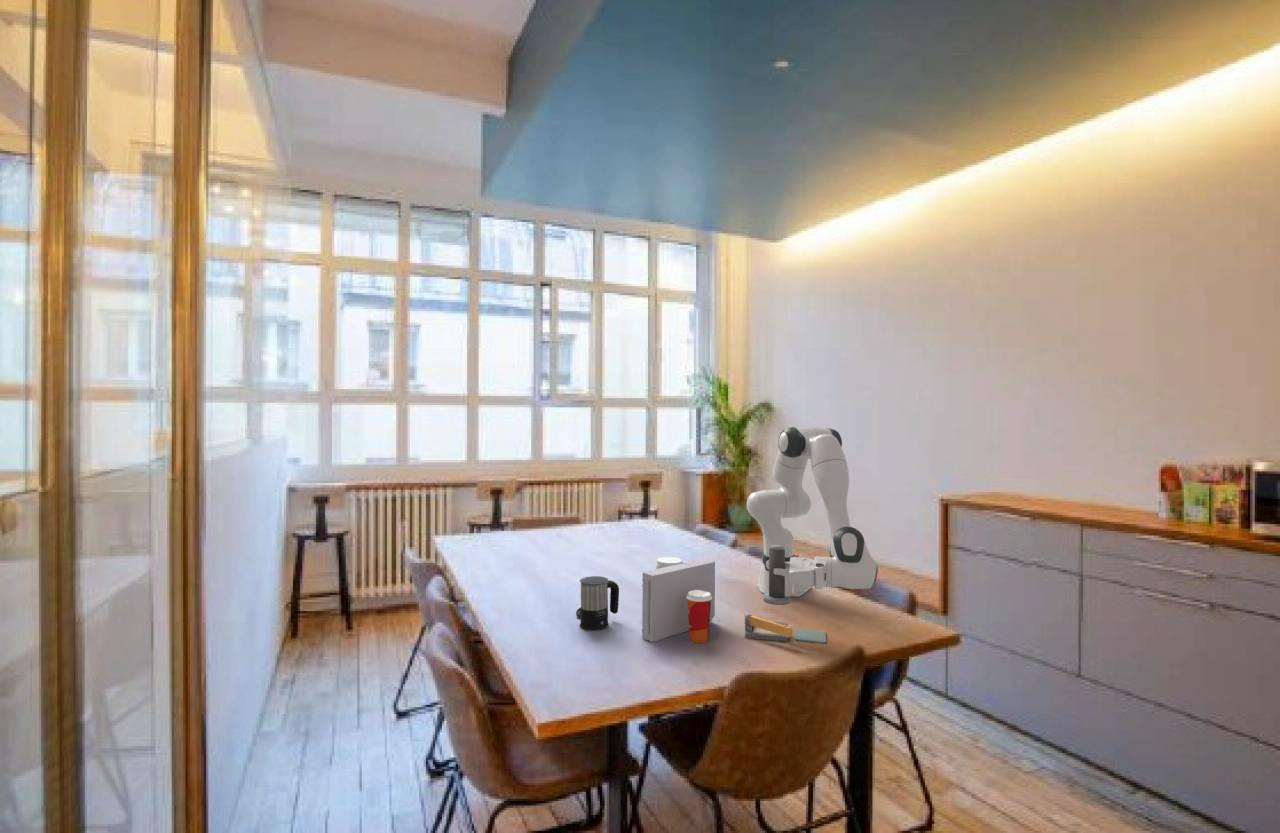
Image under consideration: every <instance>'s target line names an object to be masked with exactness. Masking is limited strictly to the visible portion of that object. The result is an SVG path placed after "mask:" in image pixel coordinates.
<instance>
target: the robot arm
mask: <svg viewBox="0 0 1280 833" xmlns="http://www.w3.org/2000/svg"><path fill="white" fill-rule="evenodd" d="M842 446H843V440H842V436H841V434H840V433H839V431H837V430H836V429H833V428H830V427H825V428H824V427H819V426H801V427H795V426H790V427H785V428H784V429H782V431H781V432H780V434H779V436H778V451H777V454H776V458H775V462H774V465H773V469H772V474H771V475H772V478H773V480H774V481H775V483H777V484H778V486H780V487H779V488H778V489H762V490H759V491H754V492H751V493H750V494H749V496H748V497H747V500H746V509H747V513H749V515H750V516H751V517H752V518H753V519H754V520H755V521H756V522H757V523H758V525H759V526H760V528H761V532H762V537H763V538H762V539H763V553H762V557H761V558H762V565H761V566H760V568H759V570H760V571H759V578H758V579H759V581H758V583H756V587H757V588H758V591H759V592H761V593H763V594H765V593H769V549H770V546H771V545H782V546H784V549H785V569H781V568H774V574H776V575H782V576H785V594H788V595H789V596H790V597H797V598H798V597H801V596H803V595H804V594H806V593H807V592H809V590H811V589H812V588H813V587H814V589H815V590H823V589H824V588H837V587H841V588H843V589H847V590H849V589H851V590H866V589H867V590H868V589H870V588H872V587H873V586H874V585H875V584H876V582H877V578H878V568H879V566H878V563H877V562H876V561H875V560H874V558H873V557H872V555H871V554H870V551H869V550H868V547H867V544H866V541H865V538H864V535H863V533H861V531H859V530H858V529H857V528H855V527H852V526H851V523H850V518H849V514H848V507H847V506H848V505H847V501H848V492H849V487H850V475H849V466H848V463H847V459H846V456H845V453H844V451H843V450H844V449H843V448H842ZM809 459H810V465H811V470H812V474H813V478H814V480H815V483H816V486H817V488H818V491H819V494H820V496H821V498H822V501H823V504H824V505H825V508H826V509H825V510H826V513H827V517H828V523H829V528H830V534H831V543H830V547H829V556H814V558H809V557H800V554H798V553H796V554H795V553H794V536H793V533H792V532H791V531H790V530H789V529H787V528H785V527H784V526H783V525H782V519H792V518H793V519H795V518H800V517H802V516H806V515H807V514H808V513H809V512H810V509H811V507H812V506H811V505H812V502H811V498H810V496H809V494H808V493H807V492H806V491H805V490H804V488H803V479H804V474H805V470H806V467H807V464H808V461H809Z"/></svg>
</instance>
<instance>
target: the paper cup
mask: <svg viewBox="0 0 1280 833" xmlns="http://www.w3.org/2000/svg"><path fill="white" fill-rule="evenodd" d="M686 598H687V599H688V619H689V630H688V634H689V641H690V642H693V643H695V644H705V643H707V642H708V641H709V635H710V624H711V623H710V607H711V599H712V597H711V594H710V592H707V591H702V590H693V591H690V592H688V595H687V597H686ZM709 623H710V624H709Z"/></svg>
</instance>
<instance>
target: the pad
mask: <svg viewBox="0 0 1280 833" xmlns="http://www.w3.org/2000/svg"><path fill="white" fill-rule="evenodd" d="M794 630H795V631H794V633H795V634H794V635H795V636H794V637H795V638H794V640H795V641H798V642H807V643H809V642H810V643H819V644H827V635H826V631H825V630H813V629H803V628H795V629H794Z"/></svg>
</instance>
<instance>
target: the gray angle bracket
mask: <svg viewBox="0 0 1280 833" xmlns="http://www.w3.org/2000/svg"><path fill="white" fill-rule="evenodd" d="M774 622H775V623H778V624H782V625H785V626H786V625H787V626H789V622H782V621H774ZM752 628H754V626H752ZM744 638H747V639H748V638H749V639H754V640H755V639H757V640H758V639H759V640H764V641H765V640H768V641H776V642H777V641H778V642H788V639H789V637H785V636H783V635H780V634H777V633H767V632H758V631H752V632H751V631H745V630H744Z"/></svg>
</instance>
